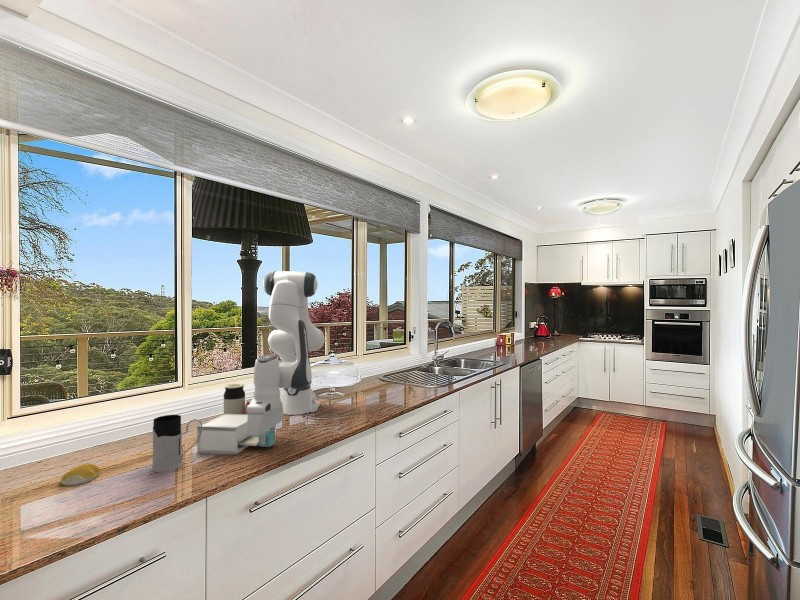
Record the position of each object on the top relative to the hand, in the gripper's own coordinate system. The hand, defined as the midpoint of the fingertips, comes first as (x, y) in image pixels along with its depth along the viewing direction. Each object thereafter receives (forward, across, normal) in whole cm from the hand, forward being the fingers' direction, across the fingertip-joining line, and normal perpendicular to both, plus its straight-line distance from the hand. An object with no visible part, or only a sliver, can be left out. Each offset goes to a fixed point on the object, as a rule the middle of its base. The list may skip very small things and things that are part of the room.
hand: (267, 441), depth 143 cm
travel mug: (+2, -17, -22) cm, 28 cm away
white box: (+2, 0, -14) cm, 14 cm away
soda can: (+2, -18, -14) cm, 23 cm away
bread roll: (+3, +31, -42) cm, 52 cm away
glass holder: (+2, +18, -21) cm, 28 cm away
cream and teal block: (+1, 0, -8) cm, 8 cm away
